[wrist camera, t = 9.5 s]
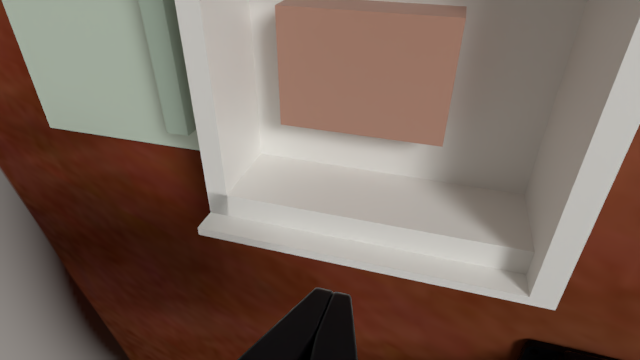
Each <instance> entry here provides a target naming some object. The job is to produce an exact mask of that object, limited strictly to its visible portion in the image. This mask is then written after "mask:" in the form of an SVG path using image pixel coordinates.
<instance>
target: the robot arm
mask: <svg viewBox="0 0 640 360" xmlns="http://www.w3.org/2000/svg"><path fill="white" fill-rule="evenodd" d="M238 360H358V358H357V348H356V339H355V329H354V319H353V310H352V300H351V296H350V295H349V294H345V293H340V292H334V293H333V292H332V291H331V290H327V289H323V288H315V289H314V290H313V291H312V292H310V293H309V294H308V295H307V296H306V297H305V298H304V299H303V300H302V301H301V302H300V303H298V304H297V305H296V306H295V307H294V308H293V309H292V310H291V311H290V312H289V313H288V314H286V315H285V316H284V317H283V318H282V319H281V320H280V321H279V322H278V323H277V324H276V325H275V326H273V327H272V328H271V329H270V330H269V331H268V332H267V333H266V334H265V335H264V336H263V337H261V338H260V339H259V340H258V341H257V342H256V343H255V344H254V345H253V346H252V347H251V348H249V349H248V350H247V351H246V352H245V353H244V354H243V355H242V356H241V357H240V358H239V359H238ZM518 360H616V359H612V358H607V357H603V356H599V355H594V354H590V353H586V352H581V351H577V350H573V349H568V348H564V347H560V346H555V345H551V344H547V343H542V342H538V341H528V342H526V343H525V344H524V346H523V348H522V351H521V353H520V356H519V358H518Z"/></svg>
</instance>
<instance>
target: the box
mask: <svg viewBox="0 0 640 360" xmlns="http://www.w3.org/2000/svg"><path fill="white" fill-rule="evenodd" d="M175 6H176V12H177V18H178V24H179V30H180V36H181V42H182V47H183V53H184V59H185V65H186V71H187V77H188V83H189V89H190V95H191V101H192V106H193V112H194V118H195V124H196V130H197V136H198V142H199V148H200V154H201V160H202V165H203V171H204V177H205V183H206V189H207V195H208V201H209V207H210V213H209V215H208V216H207V217H206V218H205V219H204V221H203V222H202V223H201V224H200V225H199V227H198V233H199V235H203V236H208V237H212V238H217V239H222V240H227V241H231V242H236V243H241V244H245V245H250V246H255V247H260V248H264V249H269V250H274V251H278V252H283V253H288V254H292V255H297V256H302V257H307V258H311V259H316V260H321V261H325V262H330V263H335V264H339V265H344V266H349V267H354V268H358V269H363V270H368V271H372V272H377V273H382V274H386V275H391V276H396V277H401V278H405V279H410V280H415V281H419V282H424V283H429V284H433V285H438V286H443V287H448V288H452V289H457V290H462V291H466V292H471V293H476V294H480V295H485V296H490V297H495V298H499V299H504V300H509V301H513V302H518V303H523V304H527V305H532V306H537V307H542V308H546V309H551V310H556V308H557V305H558V303H559V301H560V299H561V297H562V294H563V292H564V290H565V288H566V285H567V283H568V281H569V279H570V277H571V274H572V272H573V270H574V268H575V266H576V263H577V261H578V259H579V257H580V255H581V252H582V250H583V248H584V246H585V244H586V241H587V239H588V237H589V235H590V233H591V230H592V228H593V226H594V224H595V221H596V219H597V217H598V215H599V213H600V210H601V208H602V206H603V204H604V202H605V199H606V197H607V195H608V193H609V191H610V188H611V186H612V184H613V182H614V180H615V177H616V175H617V173H618V171H619V169H620V166H621V164H622V162H623V160H624V157H625V155H626V153H627V151H628V149H629V146H630V144H631V142H632V140H633V138H634V135H635V133H636V131H637V129H638V127H639V124H640V0H175Z"/></svg>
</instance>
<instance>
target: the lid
mask: <svg viewBox="0 0 640 360" xmlns="http://www.w3.org/2000/svg"><path fill="white" fill-rule="evenodd" d="M2 2H3V5H4V8H5V10H6V13H7V15H8V18H9V21H10V23H11V26H12V29H13V31H14V34H15V36H16V39H17V42H18V44H19V47H20V50H21V52H22V55H23V57H24V60H25V63H26V65H27V68H28V71H29V73H30V76H31V78H32V81H33V84H34V86H35V89H36V91H37V94H38V97H39V99H40V102H41V105H42V107H43V110H44V112H45V115H46V118H47V120H48V123H49V126H50V128H56V129H63V130H69V131H76V132H82V133H89V134H95V135H102V136H108V137H115V138H121V139H128V140H134V141H141V142H147V143H153V144H160V145H166V146H173V147H179V148H186V149H192V150H199V151H200V148H199V142H198V136H197V130H196V124H195V118H194V112H193V106H192V101H191V95H190V89H189V83H188V77H187V71H186V65H185V59H184V53H183V47H182V42H181V36H180V30H179V24H178V18H177V12H176V6H175V0H2Z"/></svg>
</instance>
